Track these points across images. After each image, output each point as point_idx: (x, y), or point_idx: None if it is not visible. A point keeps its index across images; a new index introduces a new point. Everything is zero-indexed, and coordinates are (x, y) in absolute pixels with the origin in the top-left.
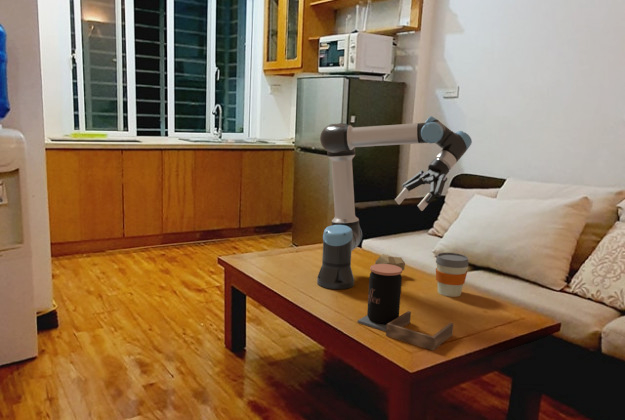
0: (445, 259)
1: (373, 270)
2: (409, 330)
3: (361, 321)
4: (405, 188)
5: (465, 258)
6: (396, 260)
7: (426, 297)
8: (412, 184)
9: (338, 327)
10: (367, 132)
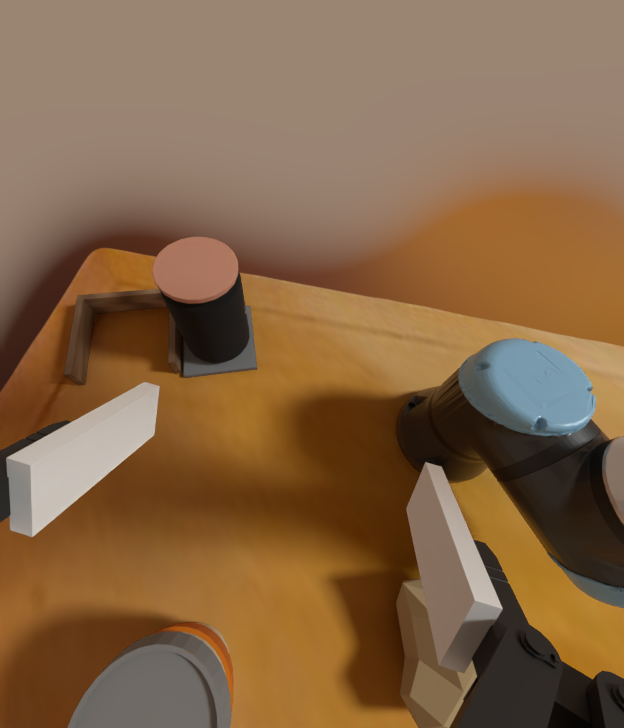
0: (152, 644)
1: (211, 239)
2: (128, 292)
3: None
4: (472, 588)
5: None
6: (435, 681)
7: (225, 551)
8: (457, 725)
9: (260, 276)
10: None
